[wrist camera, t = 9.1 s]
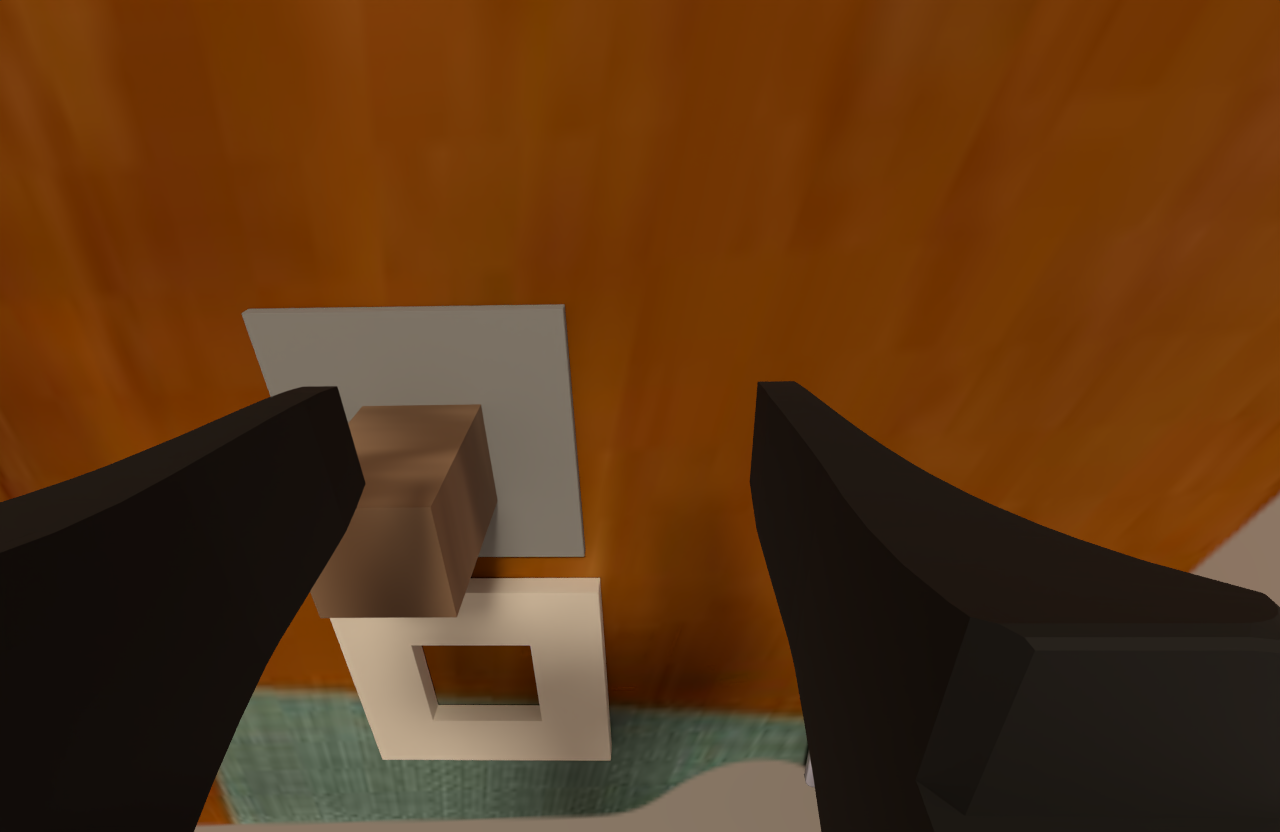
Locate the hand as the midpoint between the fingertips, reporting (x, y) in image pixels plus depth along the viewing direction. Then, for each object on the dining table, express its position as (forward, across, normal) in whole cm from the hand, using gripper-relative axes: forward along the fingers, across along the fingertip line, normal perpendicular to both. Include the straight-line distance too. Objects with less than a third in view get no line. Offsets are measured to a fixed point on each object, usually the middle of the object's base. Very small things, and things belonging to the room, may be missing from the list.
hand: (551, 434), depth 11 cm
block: (+9, +6, +6) cm, 13 cm away
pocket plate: (+9, +6, +18) cm, 21 cm away
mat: (+9, +6, +6) cm, 13 cm away
